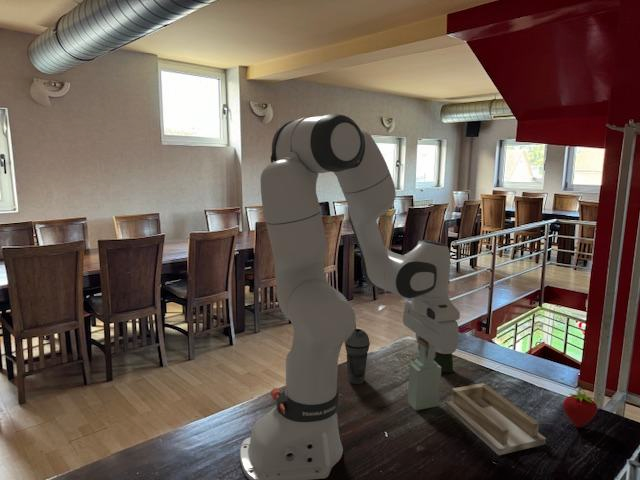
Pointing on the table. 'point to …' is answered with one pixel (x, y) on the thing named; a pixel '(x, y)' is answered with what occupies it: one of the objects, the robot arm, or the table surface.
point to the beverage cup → (357, 355)
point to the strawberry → (580, 409)
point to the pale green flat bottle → (424, 380)
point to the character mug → (444, 360)
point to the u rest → (494, 419)
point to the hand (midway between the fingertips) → (426, 354)
